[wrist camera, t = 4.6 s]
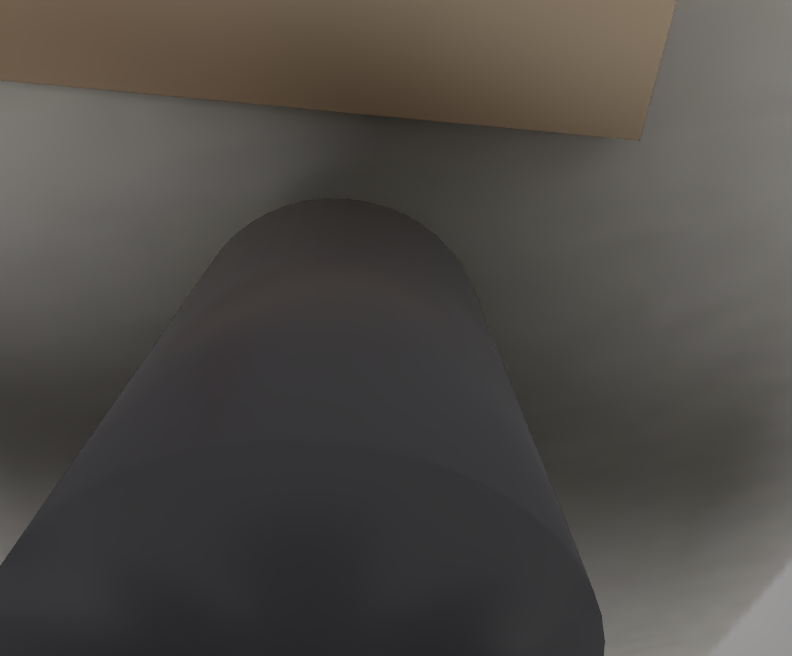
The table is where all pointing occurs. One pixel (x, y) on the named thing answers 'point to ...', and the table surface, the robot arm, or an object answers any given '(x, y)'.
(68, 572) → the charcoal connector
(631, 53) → the cork mat
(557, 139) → the table surface
